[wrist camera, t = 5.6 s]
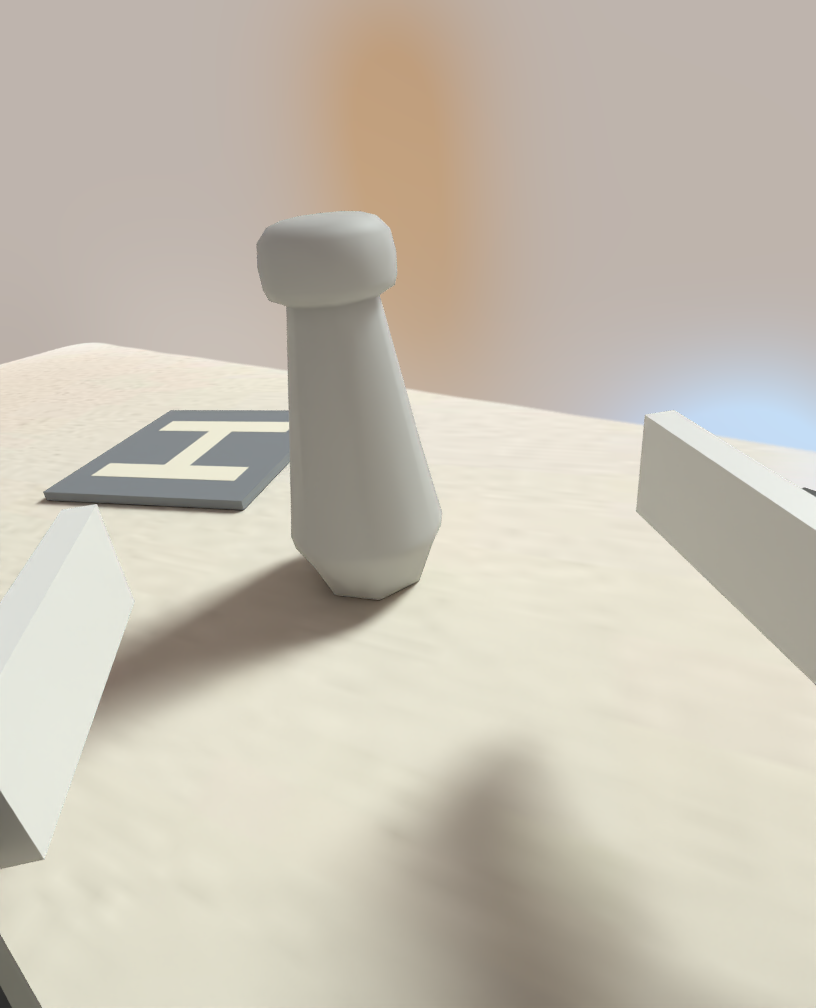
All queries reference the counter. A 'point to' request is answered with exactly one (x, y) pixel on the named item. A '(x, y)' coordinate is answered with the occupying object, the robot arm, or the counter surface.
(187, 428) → the letter card
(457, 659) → the counter surface
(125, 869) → the counter surface
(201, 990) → the counter surface
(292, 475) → the salt shaker
